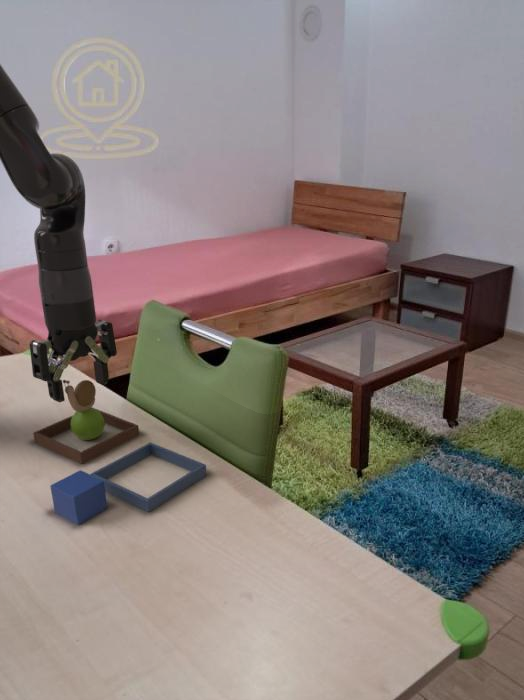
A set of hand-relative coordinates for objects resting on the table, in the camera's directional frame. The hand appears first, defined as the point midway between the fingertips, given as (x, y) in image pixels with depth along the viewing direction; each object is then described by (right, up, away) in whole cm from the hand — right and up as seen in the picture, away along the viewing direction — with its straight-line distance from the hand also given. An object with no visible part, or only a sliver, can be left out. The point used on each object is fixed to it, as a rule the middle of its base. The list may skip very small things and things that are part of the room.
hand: (80, 391), depth 103 cm
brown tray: (0, -8, +4) cm, 9 cm away
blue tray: (+13, -14, -7) cm, 21 cm away
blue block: (+5, -17, -15) cm, 23 cm away
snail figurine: (0, -8, +4) cm, 9 cm away
